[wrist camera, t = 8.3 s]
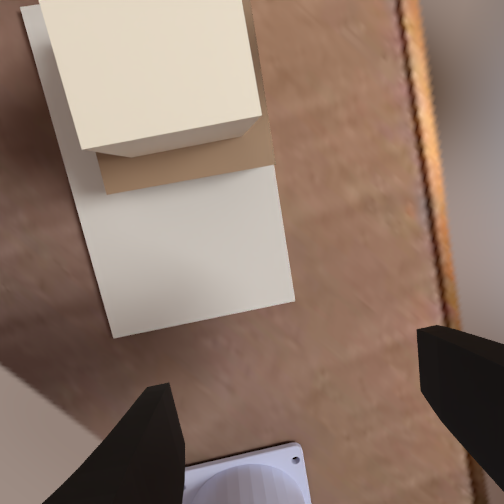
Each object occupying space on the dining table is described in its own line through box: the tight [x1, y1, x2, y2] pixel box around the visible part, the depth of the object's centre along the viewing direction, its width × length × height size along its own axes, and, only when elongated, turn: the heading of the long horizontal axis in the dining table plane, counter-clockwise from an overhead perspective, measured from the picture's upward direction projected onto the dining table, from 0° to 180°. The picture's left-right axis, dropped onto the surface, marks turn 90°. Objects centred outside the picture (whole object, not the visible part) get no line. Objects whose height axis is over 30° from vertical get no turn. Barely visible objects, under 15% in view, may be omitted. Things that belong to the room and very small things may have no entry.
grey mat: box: [20, 4, 295, 339], centre depth 19 cm, size 16×10×1 cm, turn 10°
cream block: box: [39, 0, 262, 158], centre depth 12 cm, size 4×4×6 cm
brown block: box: [96, 0, 276, 195], centre depth 16 cm, size 7×7×4 cm
